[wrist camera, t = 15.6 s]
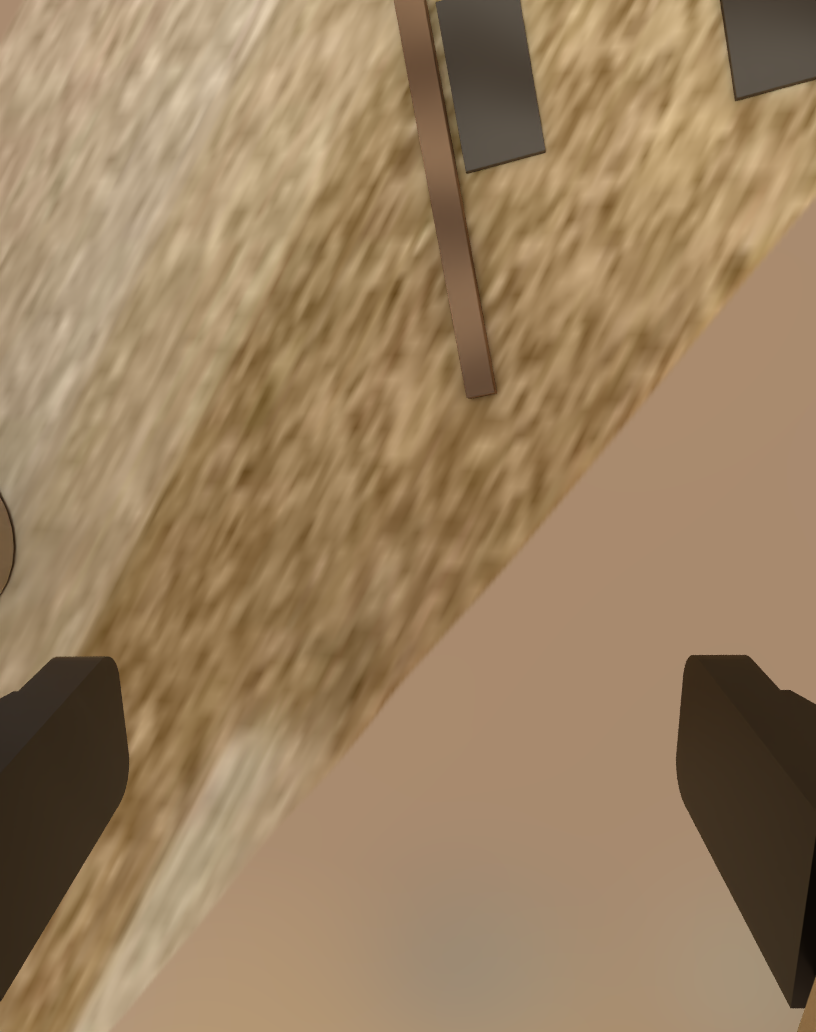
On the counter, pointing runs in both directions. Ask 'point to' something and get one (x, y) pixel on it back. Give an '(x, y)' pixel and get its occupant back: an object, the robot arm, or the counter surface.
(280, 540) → the counter surface
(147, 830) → the counter surface
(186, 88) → the counter surface
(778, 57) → the track
